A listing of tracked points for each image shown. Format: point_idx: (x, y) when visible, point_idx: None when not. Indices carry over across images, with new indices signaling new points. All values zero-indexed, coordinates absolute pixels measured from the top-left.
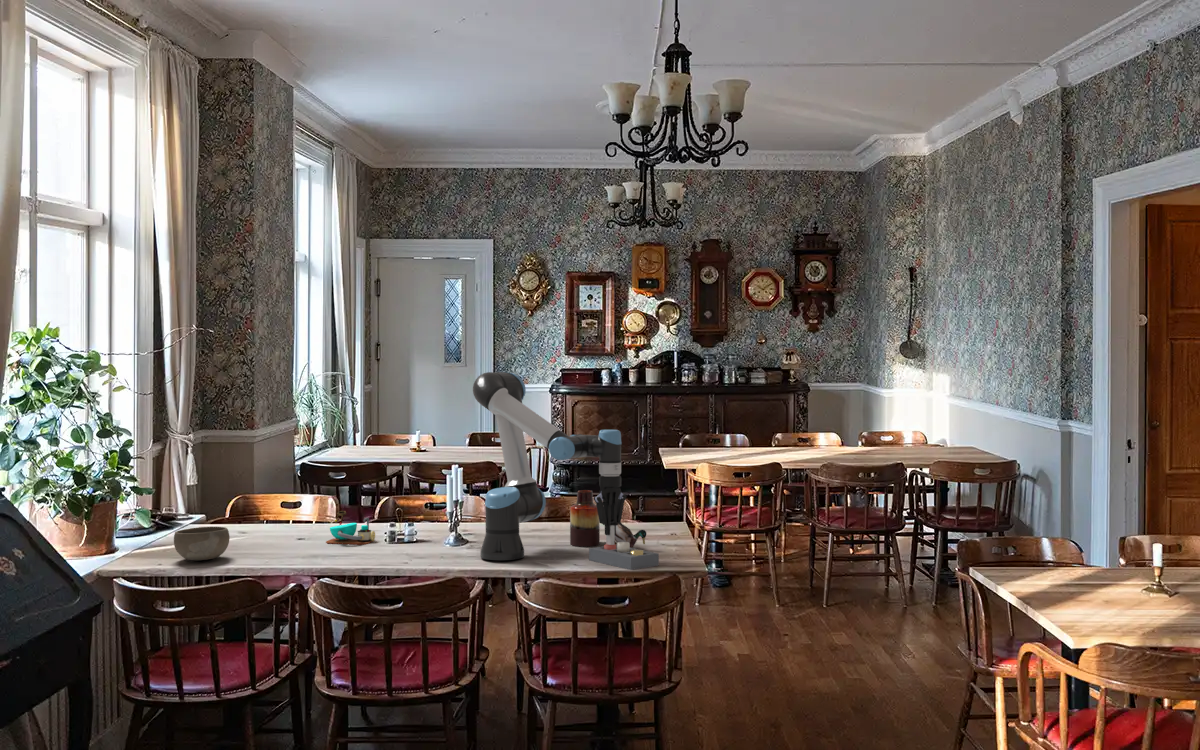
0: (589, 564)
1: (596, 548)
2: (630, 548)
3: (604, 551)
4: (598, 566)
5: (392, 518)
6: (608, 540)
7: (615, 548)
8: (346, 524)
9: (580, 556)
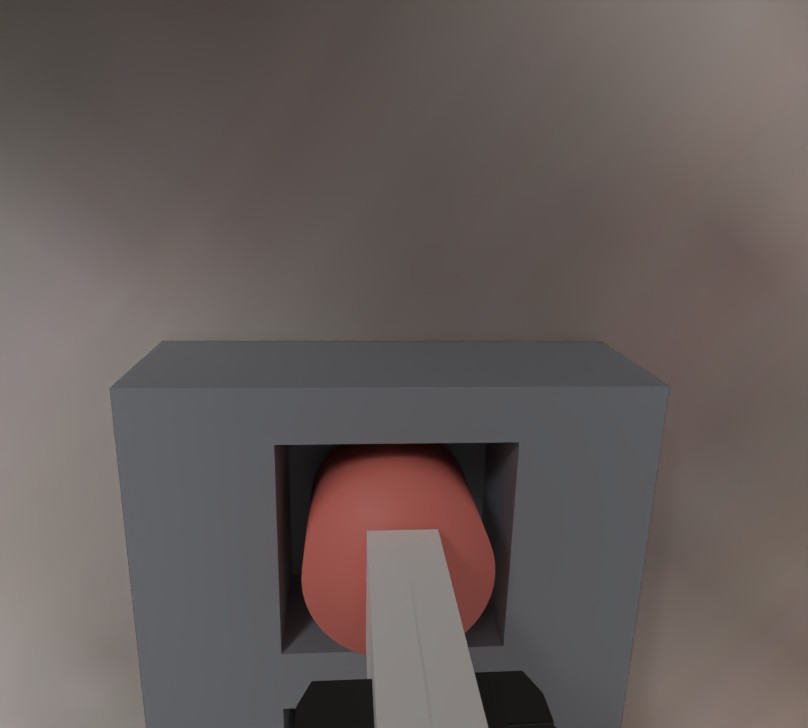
0: (13, 550)
1: (203, 468)
2: (580, 715)
3: (155, 705)
4: (39, 684)
5: None
6: (368, 628)
7: None
8: None
9: (229, 31)
